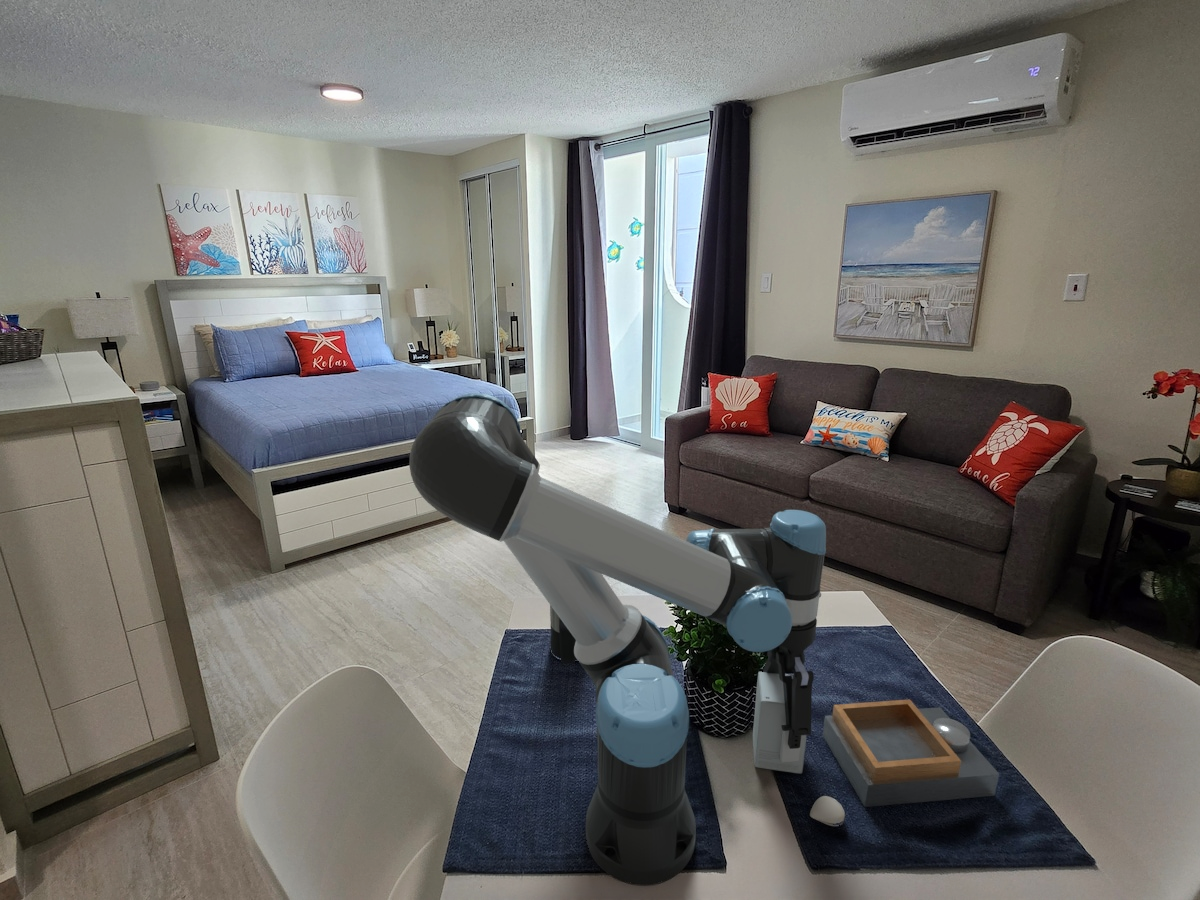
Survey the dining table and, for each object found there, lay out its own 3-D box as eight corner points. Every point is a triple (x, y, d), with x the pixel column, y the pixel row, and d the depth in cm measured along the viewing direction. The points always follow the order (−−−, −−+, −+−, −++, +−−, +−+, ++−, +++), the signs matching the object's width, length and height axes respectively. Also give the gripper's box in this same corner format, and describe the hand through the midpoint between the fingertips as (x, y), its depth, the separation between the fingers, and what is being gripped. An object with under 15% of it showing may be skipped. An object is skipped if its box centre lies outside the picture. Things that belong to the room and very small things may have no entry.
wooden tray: (864, 807, 89) (870, 771, 87) (822, 735, 102) (826, 703, 100) (994, 795, 91) (1002, 760, 89) (936, 726, 104) (942, 694, 102)
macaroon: (849, 827, 86) (851, 813, 85) (818, 836, 85) (820, 821, 84) (831, 802, 90) (832, 789, 89) (800, 810, 89) (802, 796, 88)
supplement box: (803, 775, 95) (811, 707, 91) (753, 767, 96) (759, 700, 92) (798, 739, 101) (805, 675, 98) (752, 733, 103) (757, 669, 99)
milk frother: (546, 639, 129) (543, 576, 124) (618, 628, 132) (618, 566, 128) (559, 683, 116) (557, 614, 111) (639, 669, 119) (640, 601, 115)
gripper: (848, 655, 81) (830, 790, 88) (787, 576, 101) (776, 691, 108) (793, 659, 81) (779, 794, 87) (743, 578, 101) (735, 694, 108)
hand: (778, 737), depth 98 cm, fingers closed on supplement box, 8 cm apart
